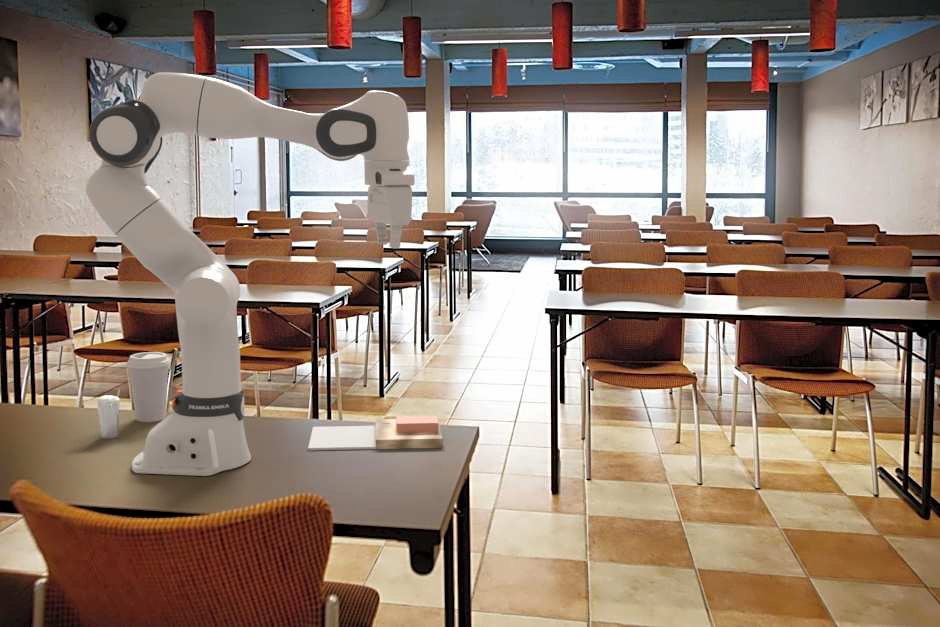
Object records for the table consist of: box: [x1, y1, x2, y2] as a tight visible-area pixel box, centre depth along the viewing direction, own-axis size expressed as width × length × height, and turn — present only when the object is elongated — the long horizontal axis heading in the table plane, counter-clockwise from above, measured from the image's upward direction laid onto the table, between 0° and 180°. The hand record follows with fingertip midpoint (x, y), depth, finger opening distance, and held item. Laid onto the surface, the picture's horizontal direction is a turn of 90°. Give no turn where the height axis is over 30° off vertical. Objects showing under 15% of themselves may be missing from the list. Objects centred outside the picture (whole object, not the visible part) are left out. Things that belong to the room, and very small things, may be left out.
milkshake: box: [96, 388, 121, 440], centre depth 196 cm, size 4×5×10 cm
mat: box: [307, 425, 377, 451], centre depth 198 cm, size 14×16×1 cm
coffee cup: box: [126, 351, 171, 423], centre depth 210 cm, size 10×10×15 cm
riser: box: [375, 418, 443, 450], centre depth 199 cm, size 14×16×2 cm
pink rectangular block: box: [395, 415, 440, 433], centre depth 199 cm, size 9×6×2 cm, turn 96°
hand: (388, 246), depth 181 cm, fingers open, 8 cm apart
